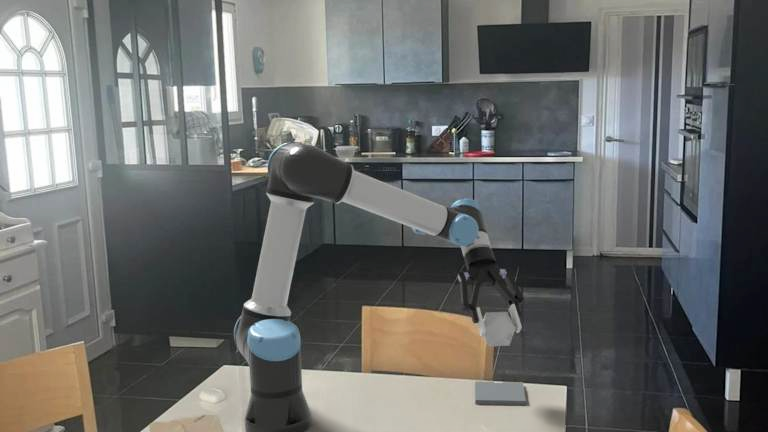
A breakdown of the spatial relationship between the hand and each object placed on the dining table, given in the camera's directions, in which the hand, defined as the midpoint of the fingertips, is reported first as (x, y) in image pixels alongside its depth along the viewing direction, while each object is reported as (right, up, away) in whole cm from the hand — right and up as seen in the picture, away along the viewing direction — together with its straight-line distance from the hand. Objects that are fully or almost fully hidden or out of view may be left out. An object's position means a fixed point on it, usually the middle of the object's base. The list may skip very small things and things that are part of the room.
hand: (501, 332), depth 187 cm
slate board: (+1, -16, +6) cm, 18 cm away
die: (0, -4, +4) cm, 5 cm away
